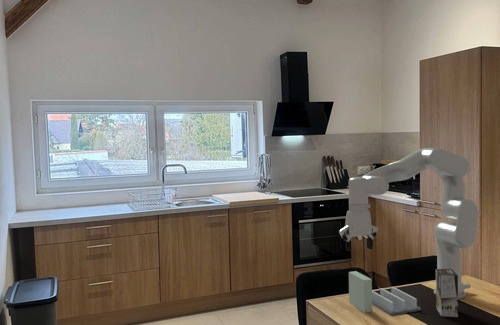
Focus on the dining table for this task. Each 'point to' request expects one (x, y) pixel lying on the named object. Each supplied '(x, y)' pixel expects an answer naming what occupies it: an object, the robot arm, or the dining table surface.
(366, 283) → the upright sage green tile
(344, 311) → the dining table surface
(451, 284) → the coffee box
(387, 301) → the dish rack
